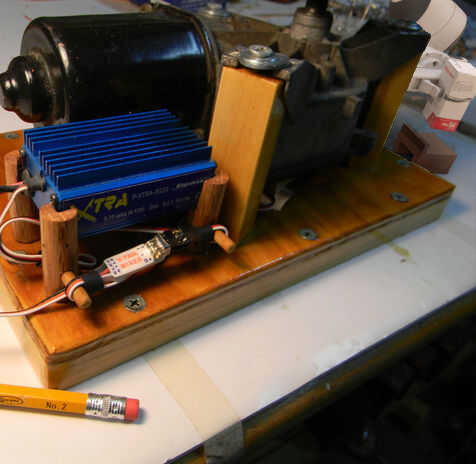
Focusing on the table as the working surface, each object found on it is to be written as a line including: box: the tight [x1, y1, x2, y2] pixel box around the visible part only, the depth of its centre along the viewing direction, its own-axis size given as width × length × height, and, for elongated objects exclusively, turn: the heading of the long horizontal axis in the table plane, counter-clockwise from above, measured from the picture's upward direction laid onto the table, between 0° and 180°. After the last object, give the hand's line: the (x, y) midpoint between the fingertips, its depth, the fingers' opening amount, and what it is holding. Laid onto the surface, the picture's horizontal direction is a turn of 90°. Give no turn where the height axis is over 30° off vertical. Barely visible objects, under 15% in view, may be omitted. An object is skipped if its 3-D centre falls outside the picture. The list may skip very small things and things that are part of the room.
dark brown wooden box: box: [392, 122, 458, 175], centre depth 102 cm, size 8×10×6 cm
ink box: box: [422, 59, 476, 133], centre depth 95 cm, size 9×5×12 cm, turn 168°
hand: (455, 95), depth 94 cm, fingers closed on ink box, 5 cm apart
